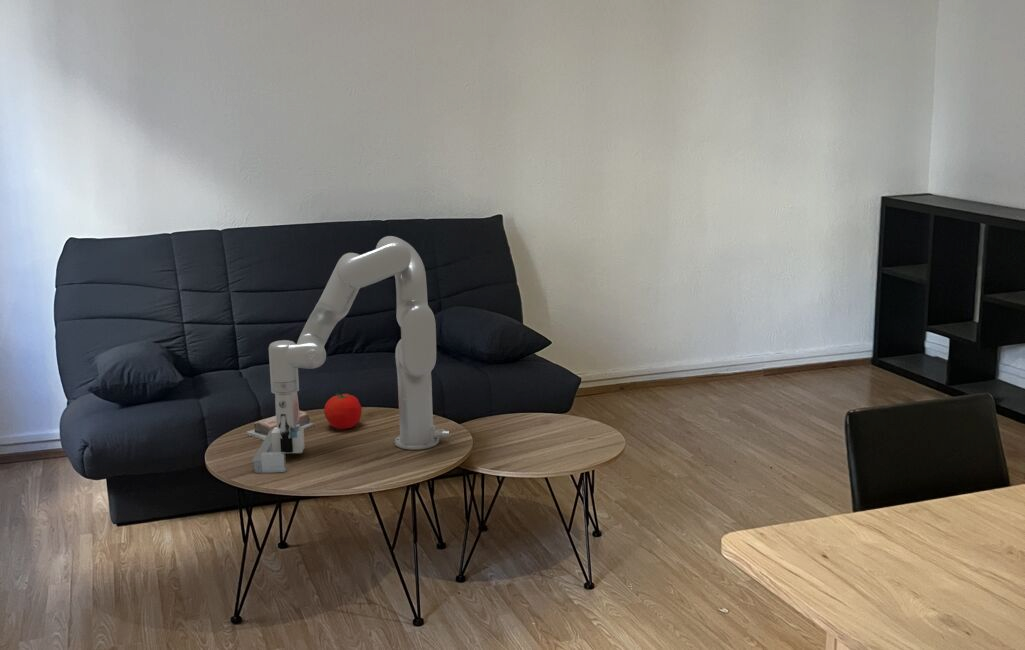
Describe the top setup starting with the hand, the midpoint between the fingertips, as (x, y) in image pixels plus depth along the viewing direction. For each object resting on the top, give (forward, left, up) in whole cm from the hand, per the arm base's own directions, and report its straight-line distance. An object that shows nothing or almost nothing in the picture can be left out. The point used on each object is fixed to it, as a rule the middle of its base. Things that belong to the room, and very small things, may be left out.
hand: (288, 447), depth 301 cm
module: (0, 0, -1) cm, 1 cm away
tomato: (-12, -25, -3) cm, 28 cm away
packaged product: (+6, -23, -3) cm, 24 cm away
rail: (+3, 0, -2) cm, 4 cm away
